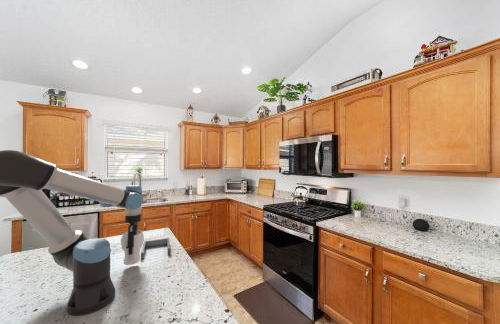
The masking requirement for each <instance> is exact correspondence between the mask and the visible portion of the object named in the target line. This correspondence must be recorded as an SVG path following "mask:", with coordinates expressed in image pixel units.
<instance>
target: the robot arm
mask: <svg viewBox="0 0 500 324" xmlns="http://www.w3.org/2000/svg"><path fill="white" fill-rule="evenodd" d="M44 189H45V190H50V191H53V192H57V193H62V194H66V195H70V196H74V197H79V198H83V199H87V200H90V201H94V202H95V201H96V202H99V203H98V204H99V205H100V207H101V208H110V207H114V208H115V207H116V208H123V209H124V214H125V216H124V223H126V224H129V225H128V226H127V228H128V230H127V232H128V243H127V247H126V248H128V256H127V261H132V260H134V235H136V231H138V223H140V222H141V221H142V214H141V213H142V210H143V207H142V205H143V201H144V198H143V195H142V194H143V189H142V186H141V185H140V184H131V185H126V186H125V189H123V188H120V187H117V186H113V185H110V184H107V183H104V182H101V181H98V180H94V179H91V178H88V177H85V176H82V175H80V174H76V173H72V172H70V171H67V170H63V169H60V168H58V167H57V166H56V164H54V163H52V162H50V161H49V162H48V161H46V160H43V159H41V158H38V157H36V156H33V155H31V154H28V153H26V152H23V151H19V150H14V149H13V150H12V149H10V150H9V149H4V150H0V198H5V199H6V200H7V201H8V202H9V203H10V204H11V205H12V206H13V207H14V208H15V209H16V211H18V213H19V214H20V215H21V216H22V217H23V218H24V219H25V220H26V221H27V222H28V223H29V224H30V226H31V227H32V228H33V229H34V230H35V231H36V232H37V233H38V235H40V236H41V238H42V239H44V241H45V242H46V243H47V244H48V246H49V247H48V249H47V251H48V253H49V254H50V255H51V257H52V258H53V261H54V262H55V263H56V265H58V266H60V267H62V268H65V269H67V270H69V271H70V272H72V275H73V279H72V280H73V282H72V284H73V286H72V287H73V288H72V290H71V293H70V295H69V297H68V301H67V304H66V312H67V313H68V315H71V316H82V315H87V314H91V313H94V312H96V311H98V310H99V311H100V310H101V309H102V308H105V307H106V306H107V305H109V304H110V303H111V302H112V301H114V299H115V298H116V288H115V285H114V283H113V280H112V278H111V251H112V249H111V244H110V242H109V240H107V239H105V238H101V237H100V238H87V237H86V235H85V234H84V233H83V232H82V230H79V229H74V228H73V227H72V225H71V224H70V222H68V221H67V219H66V218H65V217H64V215H63V214H62V212H60V211H59V210H58V208H57V207H56V206H55V204H54V203H53V202H52V201H51V200H50V198H49V197H48V196H47V195H46V194H45V192H44V191H43V190H44Z"/></svg>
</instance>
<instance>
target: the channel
mask: <svg viewBox="0 0 500 324" xmlns="http://www.w3.org/2000/svg"><path fill="white" fill-rule="evenodd" d="M170 242H171V241H170V237H166V238H160V239H151V240H144V241H143V244H142V246H141V250H140V261H142V260H144V259H145V253H146V249H147V248H152V247H154V248H155V247H160V246H167V256H170V255H171V247H170V246H171V245H170Z"/></svg>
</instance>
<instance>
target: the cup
mask: <svg viewBox="0 0 500 324" xmlns="http://www.w3.org/2000/svg"><path fill="white" fill-rule="evenodd" d="M144 241H145V235H144V232H143V231H142V230H137V231H136V235H134V260H132V261H127V256H128V248H126V247H127V243H128V231H126V232H123V233H122V234H121V239H120V246H121V248H122V251H123V252H124V258H123V265H125V266H130V265H136V264H138V263H139V262H141V249H142V247H143V244H144Z"/></svg>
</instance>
